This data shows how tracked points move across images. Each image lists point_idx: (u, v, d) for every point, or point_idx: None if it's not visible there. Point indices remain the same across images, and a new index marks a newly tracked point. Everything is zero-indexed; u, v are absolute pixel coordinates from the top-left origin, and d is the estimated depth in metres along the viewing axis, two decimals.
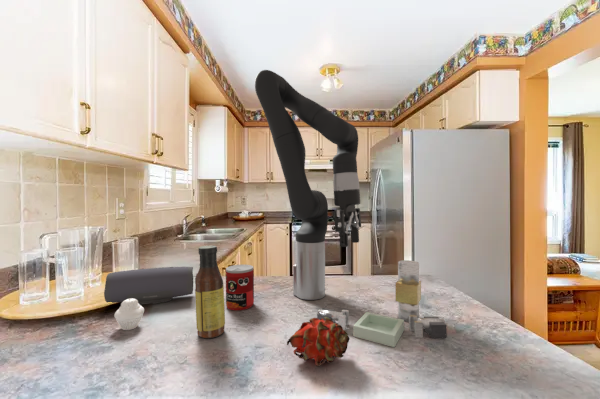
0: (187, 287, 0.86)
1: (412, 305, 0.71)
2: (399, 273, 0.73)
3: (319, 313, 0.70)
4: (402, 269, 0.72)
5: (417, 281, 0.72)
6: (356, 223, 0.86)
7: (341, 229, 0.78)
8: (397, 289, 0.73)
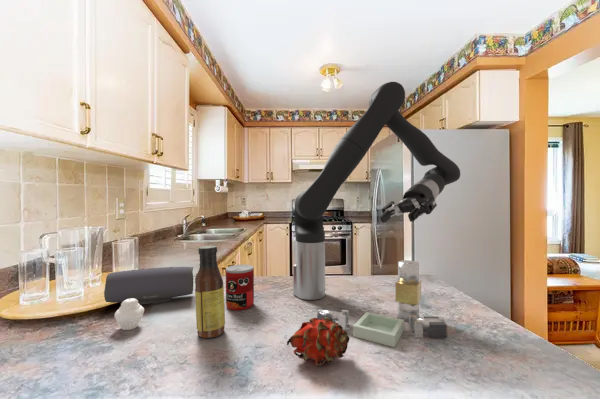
0: (187, 287, 0.86)
1: (412, 305, 0.71)
2: (399, 273, 0.73)
3: (319, 313, 0.70)
4: (402, 269, 0.72)
5: (417, 281, 0.72)
6: (398, 214, 0.84)
7: (429, 211, 0.75)
8: (397, 289, 0.73)
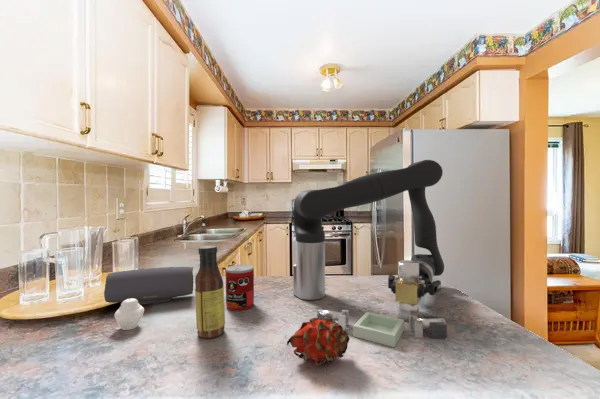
0: (187, 287, 0.86)
1: (412, 305, 0.71)
2: (399, 273, 0.74)
3: (319, 313, 0.70)
4: (402, 269, 0.72)
5: (417, 281, 0.72)
6: None
7: (434, 292, 0.73)
8: (397, 289, 0.73)
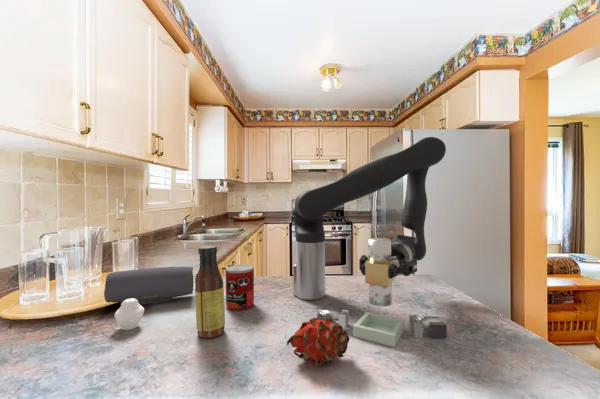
0: (187, 287, 0.86)
1: (383, 287, 0.63)
2: (369, 252, 0.65)
3: (319, 313, 0.70)
4: (372, 247, 0.64)
5: (389, 260, 0.64)
6: None
7: (408, 273, 0.65)
8: (367, 269, 0.65)
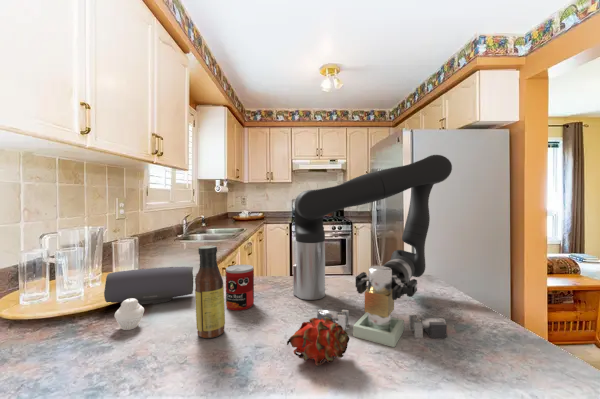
0: (187, 287, 0.86)
1: (382, 317, 0.63)
2: (369, 281, 0.65)
3: (319, 313, 0.70)
4: (372, 276, 0.64)
5: (389, 290, 0.64)
6: None
7: (412, 294, 0.65)
8: (366, 299, 0.65)
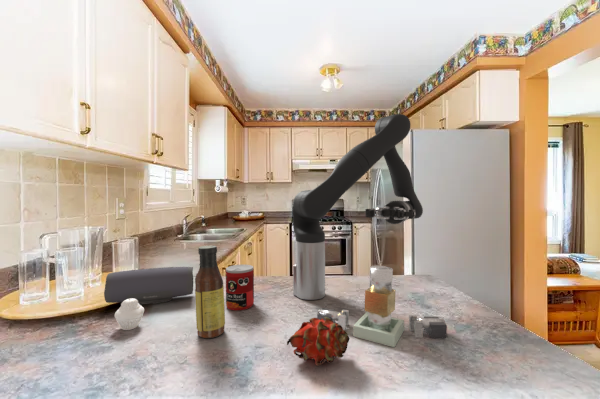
0: (187, 287, 0.86)
1: (382, 316, 0.63)
2: (370, 280, 0.66)
3: (319, 313, 0.70)
4: (373, 275, 0.65)
5: (389, 290, 0.64)
6: (379, 217, 0.90)
7: (413, 216, 0.84)
8: (366, 297, 0.65)
